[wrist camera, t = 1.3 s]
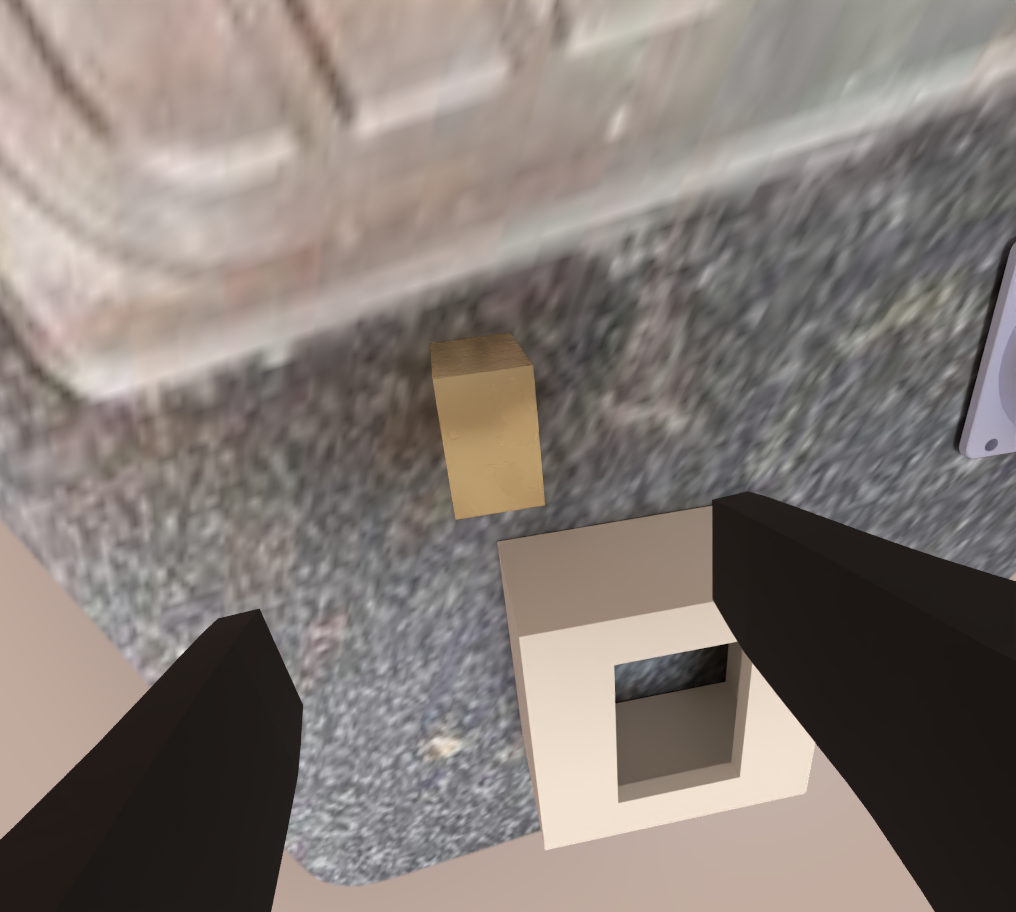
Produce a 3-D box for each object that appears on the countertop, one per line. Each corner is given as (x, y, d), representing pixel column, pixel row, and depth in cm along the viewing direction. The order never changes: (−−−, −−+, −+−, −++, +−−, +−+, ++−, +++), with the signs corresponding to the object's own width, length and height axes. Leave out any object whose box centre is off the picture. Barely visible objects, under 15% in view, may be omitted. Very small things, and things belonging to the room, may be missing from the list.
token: (509, 332, 17) (533, 365, 14) (521, 448, 19) (545, 504, 15) (430, 342, 17) (432, 379, 13) (448, 459, 19) (455, 519, 15)
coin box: (755, 498, 21) (846, 577, 17) (737, 689, 25) (805, 793, 21) (497, 541, 20) (518, 637, 16) (522, 731, 24) (544, 850, 20)
